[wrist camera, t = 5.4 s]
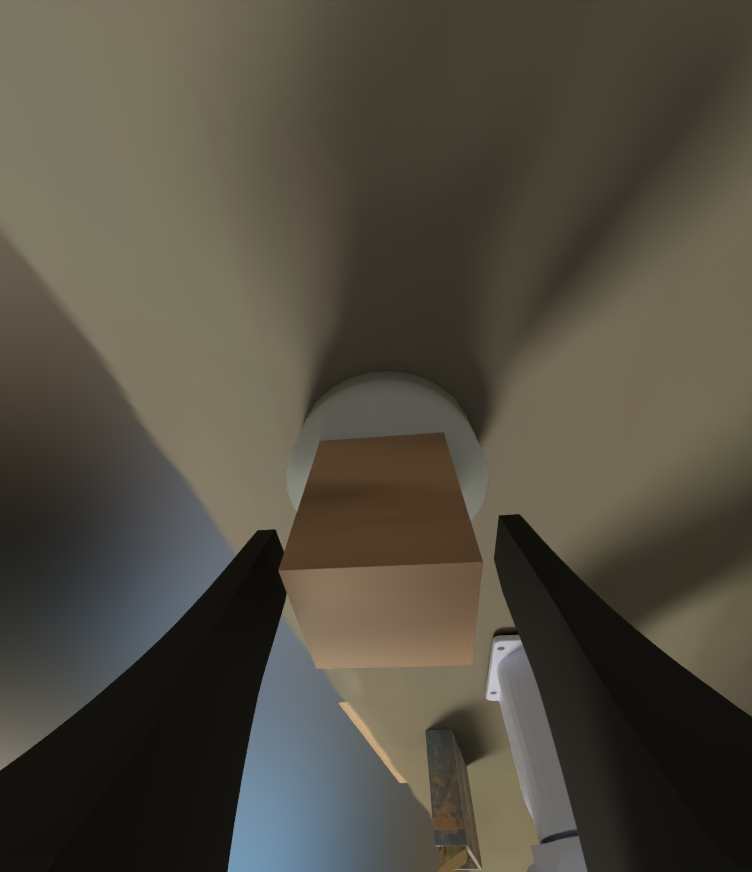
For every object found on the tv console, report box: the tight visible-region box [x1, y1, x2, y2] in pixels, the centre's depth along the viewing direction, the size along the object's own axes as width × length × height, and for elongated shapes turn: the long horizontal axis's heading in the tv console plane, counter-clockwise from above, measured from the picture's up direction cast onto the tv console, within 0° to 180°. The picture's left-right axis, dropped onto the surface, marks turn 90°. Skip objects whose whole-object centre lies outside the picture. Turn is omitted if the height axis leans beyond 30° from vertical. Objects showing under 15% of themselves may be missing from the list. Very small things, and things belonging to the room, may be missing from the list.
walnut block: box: [278, 432, 483, 669], centre depth 11 cm, size 4×4×6 cm
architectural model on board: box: [339, 702, 482, 872], centre depth 32 cm, size 11×3×10 cm, turn 16°
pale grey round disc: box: [286, 371, 488, 521], centre depth 14 cm, size 8×8×3 cm
